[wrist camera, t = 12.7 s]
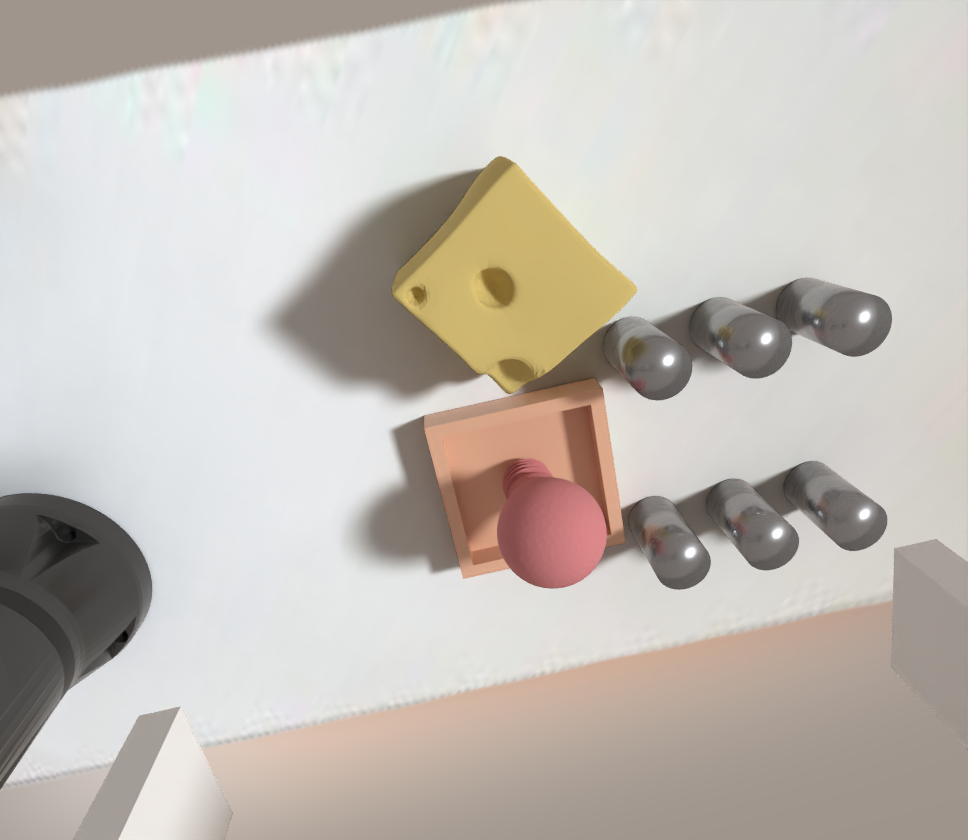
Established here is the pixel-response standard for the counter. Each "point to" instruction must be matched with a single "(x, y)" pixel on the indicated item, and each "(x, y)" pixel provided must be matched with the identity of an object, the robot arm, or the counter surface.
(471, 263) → the cheese
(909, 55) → the counter surface
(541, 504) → the light bulb
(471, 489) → the dish
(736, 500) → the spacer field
